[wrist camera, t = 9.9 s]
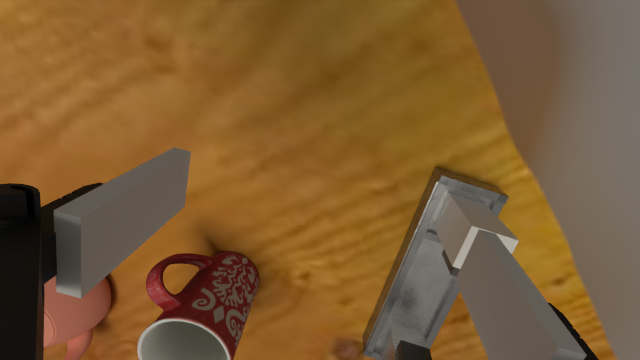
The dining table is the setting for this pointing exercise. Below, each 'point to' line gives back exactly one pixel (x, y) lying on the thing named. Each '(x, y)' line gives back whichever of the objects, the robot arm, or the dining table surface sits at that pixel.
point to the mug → (200, 309)
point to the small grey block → (467, 229)
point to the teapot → (74, 317)
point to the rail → (422, 276)
